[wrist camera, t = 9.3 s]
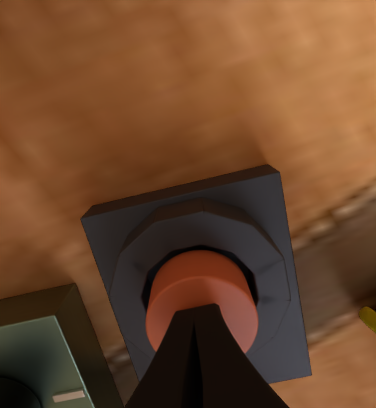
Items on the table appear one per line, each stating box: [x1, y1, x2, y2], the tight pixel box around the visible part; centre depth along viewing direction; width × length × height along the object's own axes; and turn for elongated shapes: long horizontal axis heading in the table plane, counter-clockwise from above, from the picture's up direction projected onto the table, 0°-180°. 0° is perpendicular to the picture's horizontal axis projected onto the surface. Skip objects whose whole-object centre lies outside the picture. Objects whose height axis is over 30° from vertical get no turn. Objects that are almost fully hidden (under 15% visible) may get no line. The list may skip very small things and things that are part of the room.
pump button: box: [145, 250, 258, 353], centre depth 11 cm, size 4×4×2 cm
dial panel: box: [0, 284, 124, 408], centre depth 16 cm, size 10×8×3 cm
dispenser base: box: [81, 164, 312, 384], centre depth 13 cm, size 10×8×4 cm
